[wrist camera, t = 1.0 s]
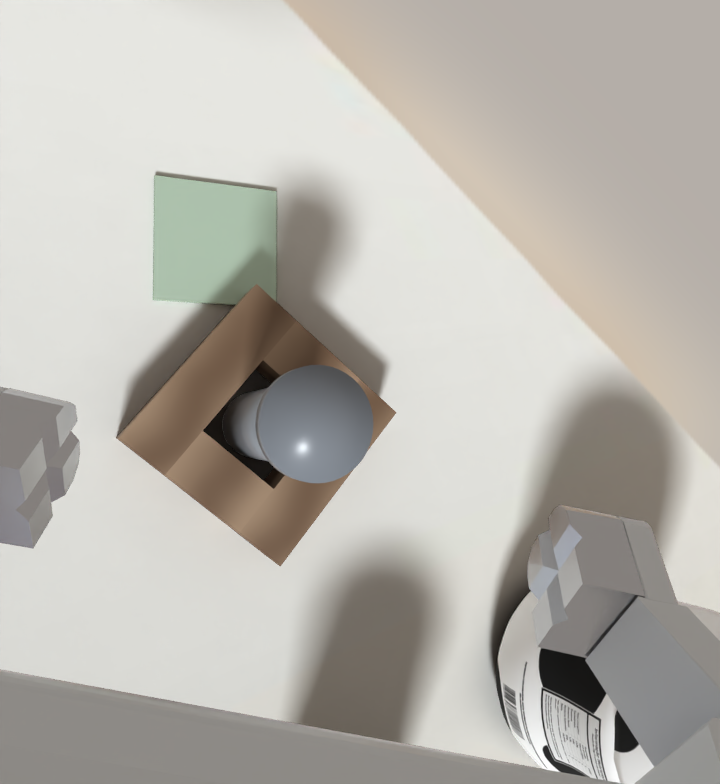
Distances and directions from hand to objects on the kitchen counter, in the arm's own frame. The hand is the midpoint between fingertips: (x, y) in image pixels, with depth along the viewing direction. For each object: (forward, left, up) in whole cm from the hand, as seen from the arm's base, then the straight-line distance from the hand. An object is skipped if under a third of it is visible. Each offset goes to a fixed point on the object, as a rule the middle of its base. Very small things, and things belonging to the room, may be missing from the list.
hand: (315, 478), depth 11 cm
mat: (-15, +5, -38) cm, 41 cm away
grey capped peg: (-1, +8, -38) cm, 39 cm away
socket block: (-1, +8, -38) cm, 39 cm away
